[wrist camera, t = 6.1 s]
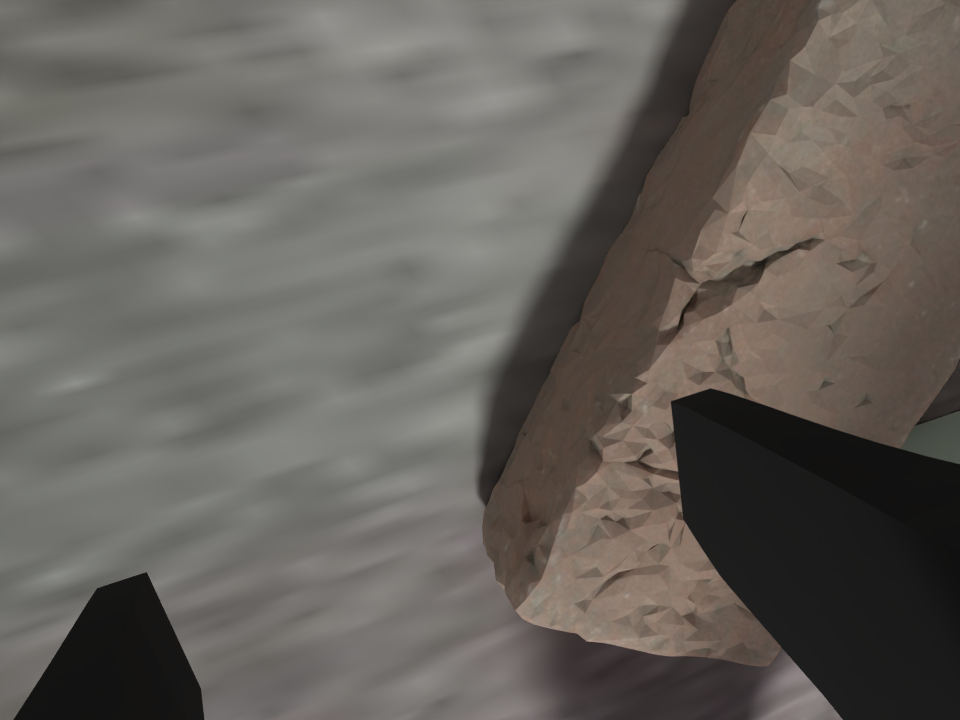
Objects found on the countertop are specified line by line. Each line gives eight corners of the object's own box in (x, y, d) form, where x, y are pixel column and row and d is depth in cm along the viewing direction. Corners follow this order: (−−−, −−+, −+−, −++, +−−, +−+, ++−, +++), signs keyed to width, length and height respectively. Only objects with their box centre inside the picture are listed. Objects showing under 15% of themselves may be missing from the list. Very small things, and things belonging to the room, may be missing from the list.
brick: (755, -80, 20) (898, -87, 16) (992, 76, 23) (1160, 103, 19) (454, 522, 25) (504, 637, 20) (689, 580, 28) (773, 689, 24)
